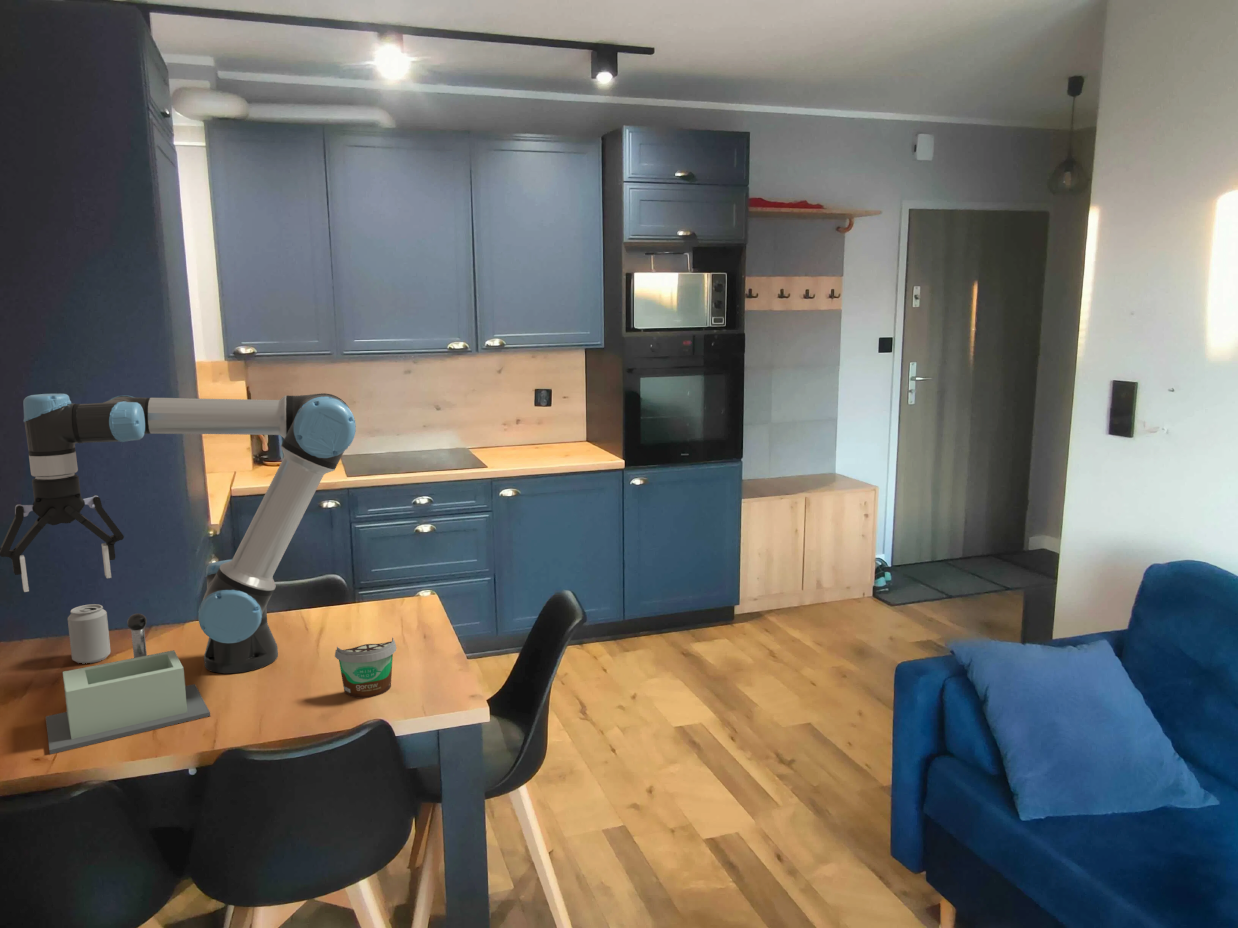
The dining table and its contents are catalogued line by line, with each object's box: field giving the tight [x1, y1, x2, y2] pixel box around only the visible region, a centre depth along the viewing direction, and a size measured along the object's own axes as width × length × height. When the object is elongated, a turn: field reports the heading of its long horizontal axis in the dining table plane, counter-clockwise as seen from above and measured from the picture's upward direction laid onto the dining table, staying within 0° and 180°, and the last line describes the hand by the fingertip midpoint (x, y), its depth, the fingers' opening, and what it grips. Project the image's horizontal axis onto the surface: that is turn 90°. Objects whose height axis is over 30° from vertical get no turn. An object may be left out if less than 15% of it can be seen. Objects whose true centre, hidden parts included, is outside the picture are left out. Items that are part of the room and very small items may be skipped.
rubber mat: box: [45, 683, 211, 755], centre depth 167 cm, size 26×16×1 cm, turn 125°
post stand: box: [126, 613, 148, 658], centre depth 183 cm, size 5×5×15 cm
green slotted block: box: [62, 650, 187, 739], centre depth 166 cm, size 19×11×9 cm, turn 125°
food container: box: [334, 636, 397, 699], centre depth 178 cm, size 12×6×10 cm, turn 118°
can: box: [67, 603, 112, 665], centre depth 195 cm, size 8×8×12 cm
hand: (68, 583), depth 169 cm, fingers open, 13 cm apart
